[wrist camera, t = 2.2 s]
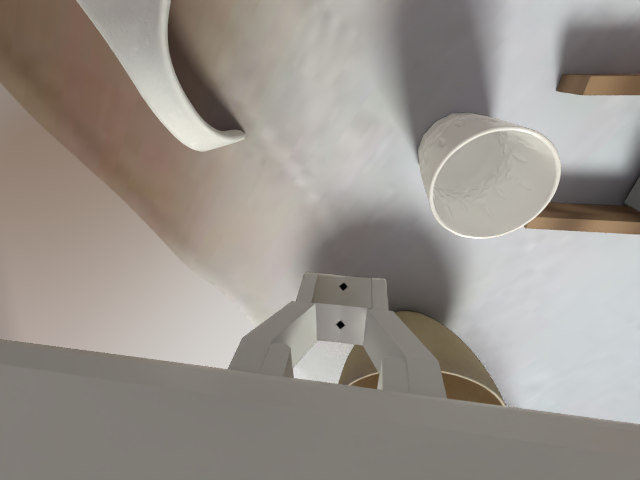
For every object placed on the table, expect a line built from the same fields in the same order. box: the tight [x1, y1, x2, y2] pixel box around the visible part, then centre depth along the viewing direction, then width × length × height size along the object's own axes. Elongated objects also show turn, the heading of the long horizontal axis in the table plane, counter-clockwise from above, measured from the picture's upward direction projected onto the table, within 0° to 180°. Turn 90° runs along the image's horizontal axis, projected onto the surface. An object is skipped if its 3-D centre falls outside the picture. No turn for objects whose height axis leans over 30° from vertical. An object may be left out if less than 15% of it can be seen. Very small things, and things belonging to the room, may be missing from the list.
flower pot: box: [338, 311, 506, 406], centre depth 36 cm, size 18×18×12 cm
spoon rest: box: [76, 0, 246, 151], centre depth 22 cm, size 24×12×7 cm, turn 17°
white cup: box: [418, 113, 561, 239], centre depth 23 cm, size 8×8×10 cm
